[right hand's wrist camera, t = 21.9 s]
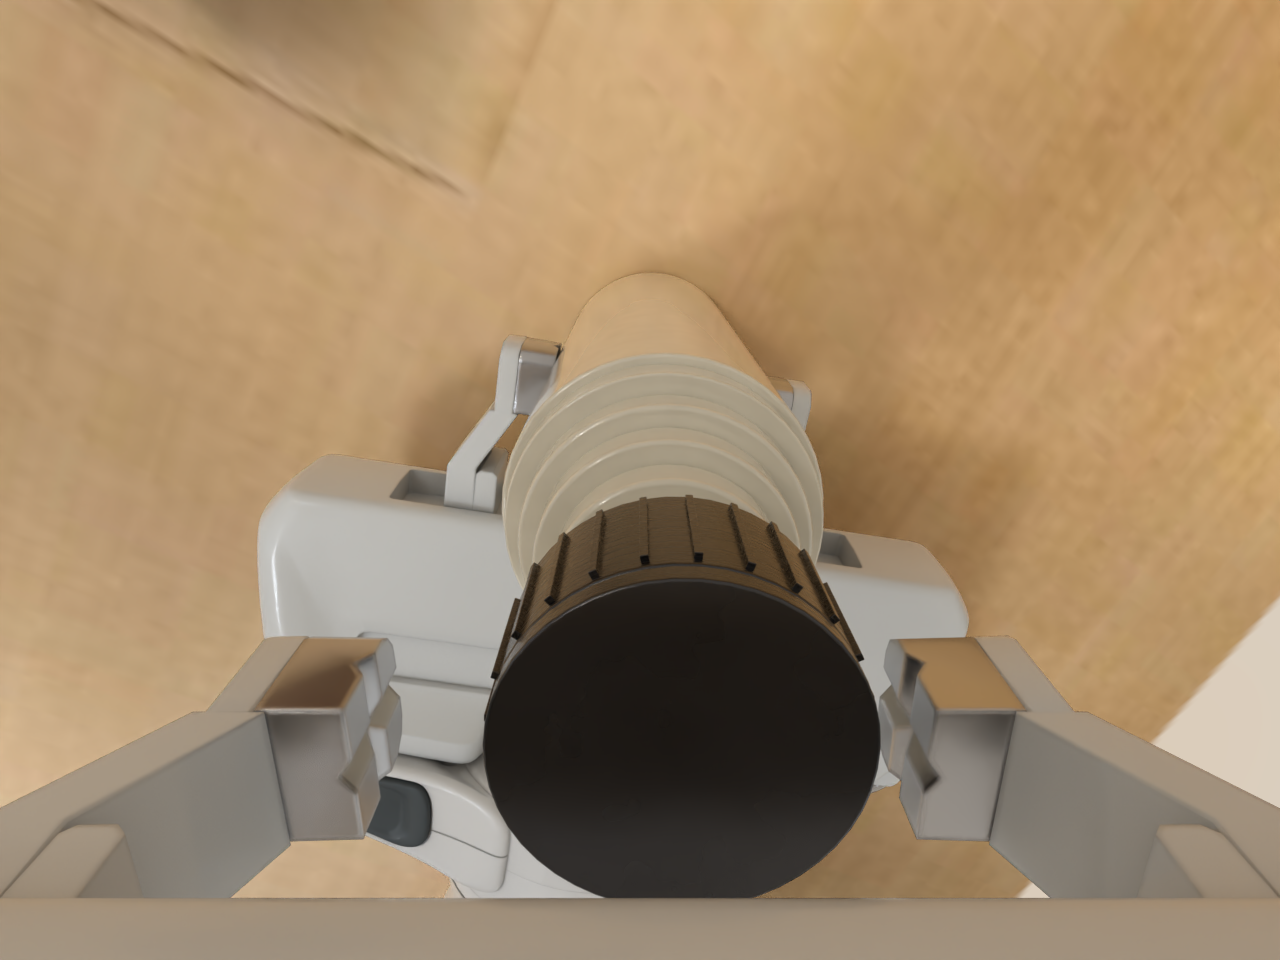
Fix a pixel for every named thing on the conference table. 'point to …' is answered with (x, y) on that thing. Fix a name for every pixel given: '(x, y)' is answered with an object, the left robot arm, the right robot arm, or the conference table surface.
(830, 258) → the conference table surface
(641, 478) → the bottle
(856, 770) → the cap
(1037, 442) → the conference table surface
